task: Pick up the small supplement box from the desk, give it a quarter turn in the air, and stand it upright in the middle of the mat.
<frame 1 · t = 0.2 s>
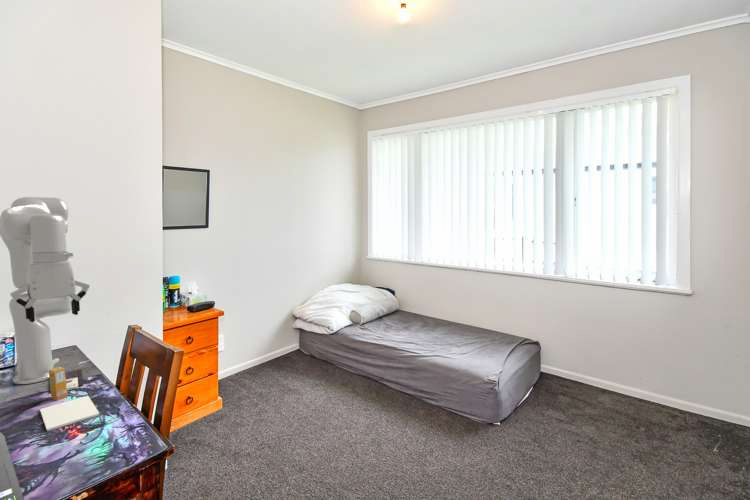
hand: (54, 317, 108), 31 cm above the table, tool pointing down, fingers open, 9 cm apart
mat: (69, 412, 115), on the table
supplement box: (59, 398, 124), on the table
chocolate bar: (66, 382, 137), on the table
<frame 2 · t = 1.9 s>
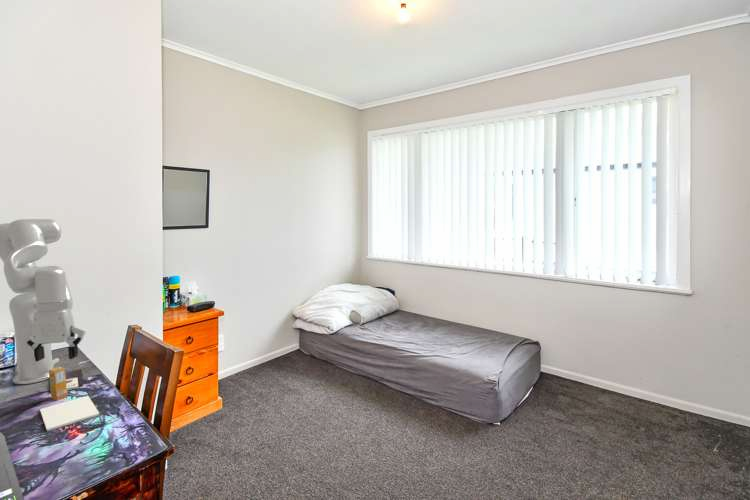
hand: (56, 358, 123), 13 cm above the table, tool pointing down, fingers open, 9 cm apart
nothing on the table moved.
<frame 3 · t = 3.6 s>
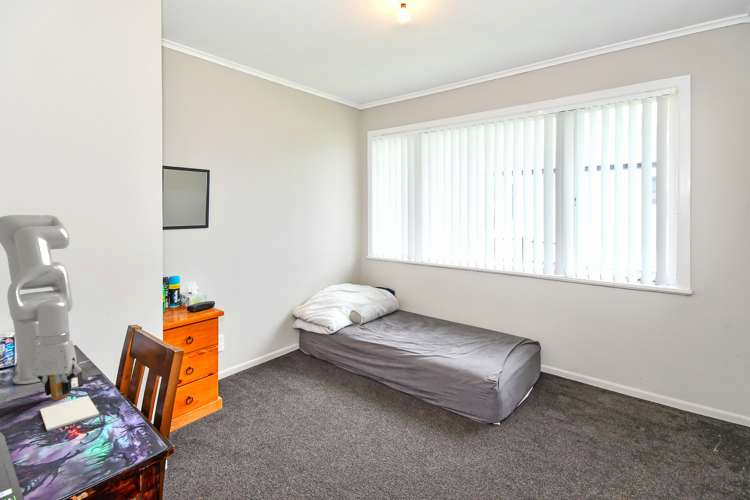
hand: (58, 392, 124), 2 cm above the table, tool pointing down, fingers closed on supplement box, 4 cm apart
supplement box: (58, 398, 124), on the table, touching gripper
everything else where it was.
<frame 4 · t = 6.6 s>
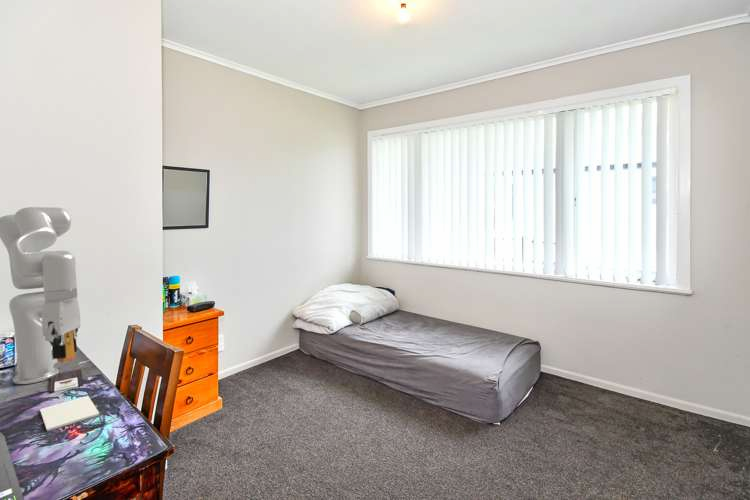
hand: (65, 354, 113), 18 cm above the table, tool pointing down, fingers closed on supplement box, 4 cm apart
supplement box: (65, 360, 114), point 16 cm above the table, touching gripper
everything else where it was.
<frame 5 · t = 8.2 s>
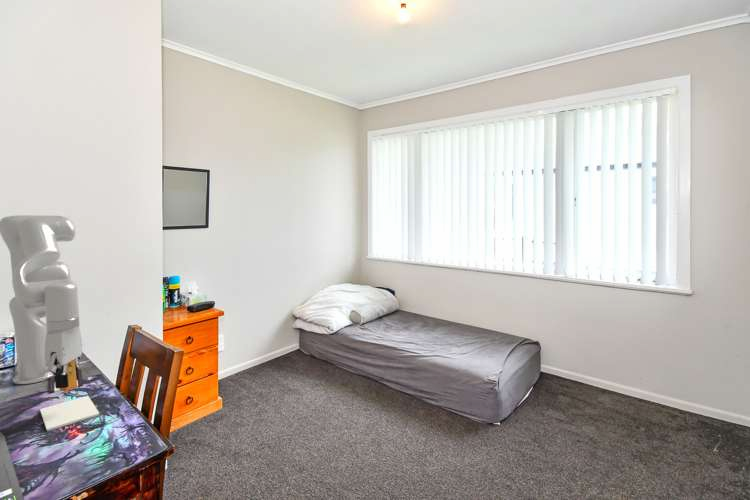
hand: (67, 383, 114), 9 cm above the table, tool pointing down, fingers closed on supplement box, 4 cm apart
supplement box: (68, 389, 114), point 7 cm above the table, touching gripper
everything else where it was.
when the fingers open (4 cm above the table, at t = 9.6 s): supplement box drops 1 cm, resting on mat.
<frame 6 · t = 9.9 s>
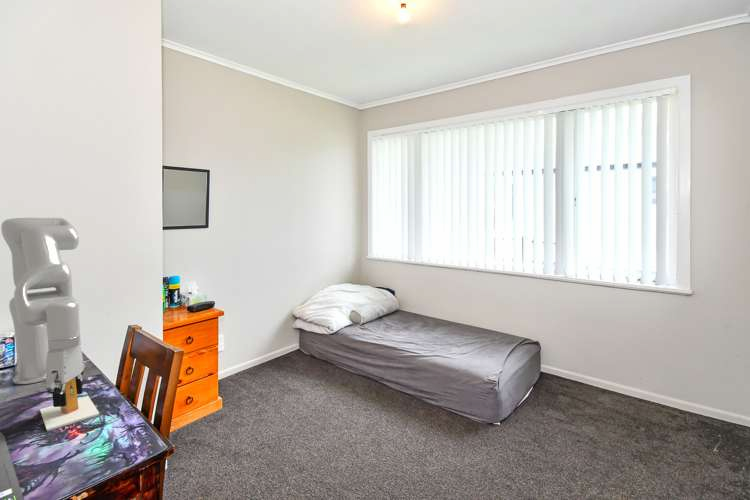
hand: (68, 399, 114), 4 cm above the table, tool pointing down, fingers open, 7 cm apart
supplement box: (69, 411, 115), resting on mat
everything else where it was.
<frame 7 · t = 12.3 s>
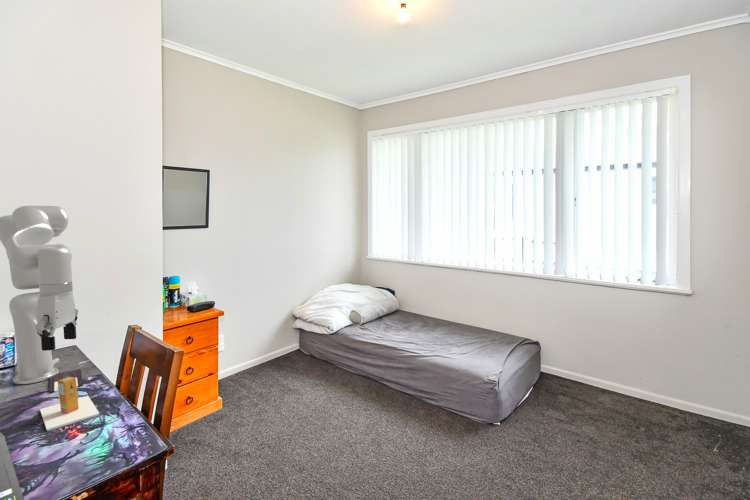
hand: (60, 344, 114), 21 cm above the table, tool pointing down, fingers open, 9 cm apart
nothing on the table moved.
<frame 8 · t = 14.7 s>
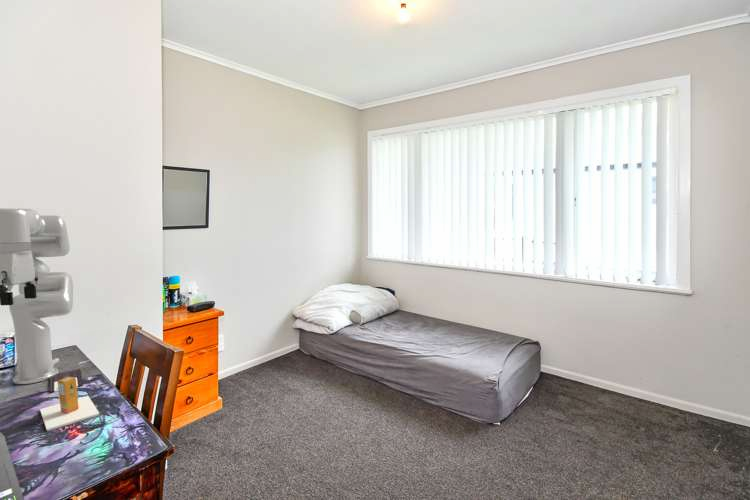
hand: (19, 301, 121), 32 cm above the table, tool pointing down, fingers open, 9 cm apart
nothing on the table moved.
at the end: supplement box inside the target area on the mat (0.3 cm from its centre), point 0.4 cm above the mat's base; supplement box tilted 0°; the gripper is holding nothing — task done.
